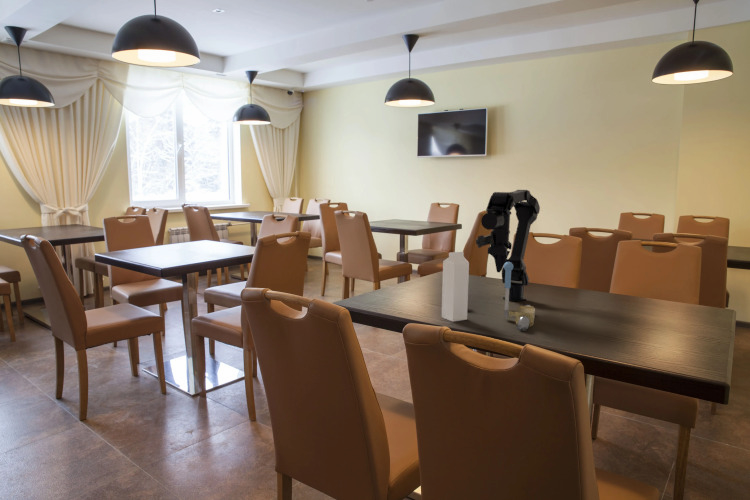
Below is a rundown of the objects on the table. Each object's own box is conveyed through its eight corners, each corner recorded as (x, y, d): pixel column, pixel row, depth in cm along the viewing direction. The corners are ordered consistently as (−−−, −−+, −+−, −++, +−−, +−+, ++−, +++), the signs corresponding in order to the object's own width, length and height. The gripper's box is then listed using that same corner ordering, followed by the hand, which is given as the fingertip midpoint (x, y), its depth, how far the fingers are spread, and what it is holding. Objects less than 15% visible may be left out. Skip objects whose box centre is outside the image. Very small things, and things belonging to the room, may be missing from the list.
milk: (467, 319, 163) (470, 252, 160) (452, 322, 160) (455, 253, 157) (455, 315, 168) (458, 250, 165) (440, 317, 165) (443, 251, 162)
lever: (502, 314, 164) (504, 260, 162) (511, 315, 163) (514, 261, 161) (500, 316, 161) (503, 262, 159) (510, 317, 160) (513, 262, 158)
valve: (512, 312, 172) (512, 300, 172) (535, 314, 170) (536, 302, 169) (505, 329, 152) (505, 315, 151) (531, 332, 149) (532, 318, 149)
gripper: (482, 225, 187) (480, 266, 189) (473, 229, 170) (471, 274, 172) (512, 226, 184) (510, 268, 186) (507, 230, 166) (505, 276, 168)
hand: (499, 271), depth 178 cm, fingers open, 3 cm apart
